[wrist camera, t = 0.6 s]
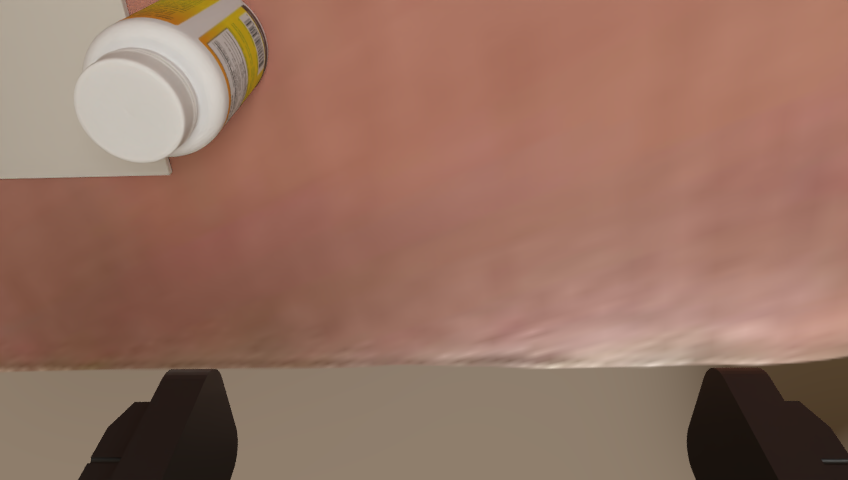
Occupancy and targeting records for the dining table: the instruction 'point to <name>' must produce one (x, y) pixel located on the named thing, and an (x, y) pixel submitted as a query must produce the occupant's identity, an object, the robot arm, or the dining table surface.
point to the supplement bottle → (169, 77)
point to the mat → (53, 90)
